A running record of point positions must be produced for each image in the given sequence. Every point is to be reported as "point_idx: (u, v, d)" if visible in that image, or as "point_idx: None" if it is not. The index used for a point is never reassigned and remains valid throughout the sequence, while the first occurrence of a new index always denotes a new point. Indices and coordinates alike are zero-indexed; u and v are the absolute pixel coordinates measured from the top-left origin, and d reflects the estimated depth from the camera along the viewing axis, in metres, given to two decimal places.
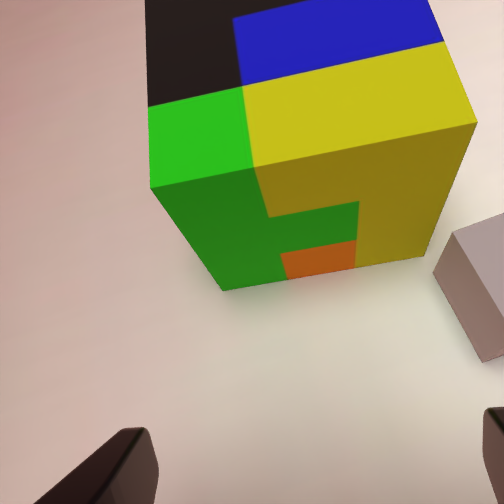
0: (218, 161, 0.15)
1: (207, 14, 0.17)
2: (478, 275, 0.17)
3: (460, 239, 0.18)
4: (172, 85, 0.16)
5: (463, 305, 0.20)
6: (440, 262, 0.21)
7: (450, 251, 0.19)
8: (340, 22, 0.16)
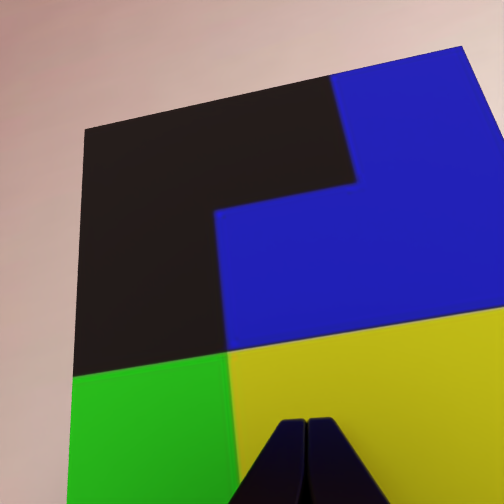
0: None
1: (175, 199, 0.11)
2: None
3: None
4: (115, 336, 0.10)
5: None
6: None
7: None
8: (388, 236, 0.10)
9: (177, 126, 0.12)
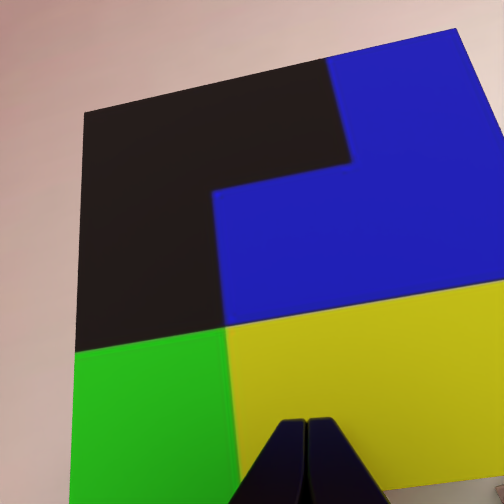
0: (183, 484, 0.09)
1: (174, 180, 0.11)
2: None
3: None
4: (116, 313, 0.10)
5: None
6: None
7: None
8: (382, 215, 0.10)
9: (175, 109, 0.12)
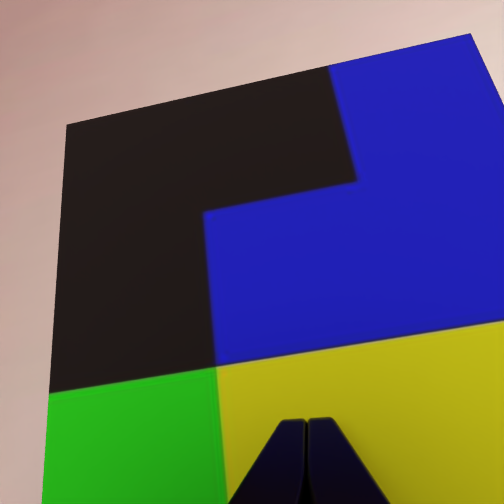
0: None
1: (162, 199, 0.10)
2: None
3: None
4: (95, 349, 0.09)
5: None
6: None
7: None
8: (392, 240, 0.09)
9: (165, 120, 0.11)
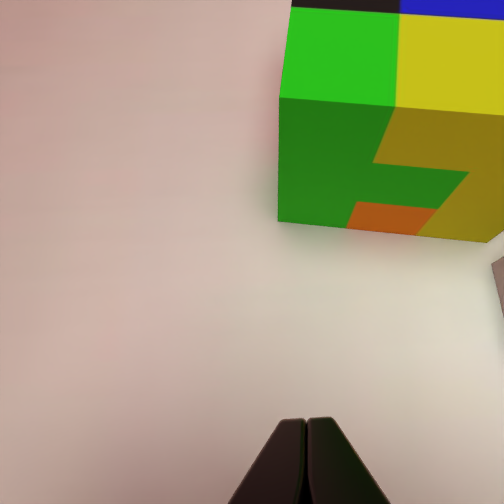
0: (358, 88, 0.14)
1: None
2: None
3: None
4: None
5: None
6: None
7: None
8: None
9: None
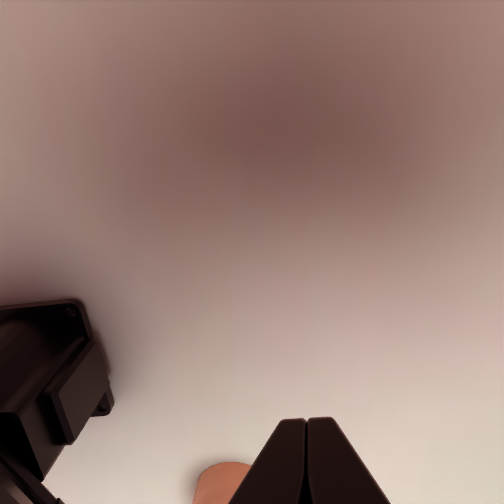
0: None
1: None
2: None
3: None
4: None
5: None
6: None
7: None
8: None
9: None
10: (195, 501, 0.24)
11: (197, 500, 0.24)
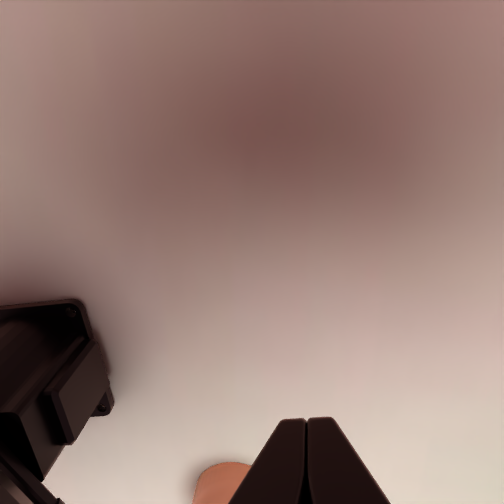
0: None
1: None
2: None
3: None
4: None
5: None
6: None
7: None
8: None
9: None
10: (195, 501, 0.24)
11: (197, 500, 0.24)
